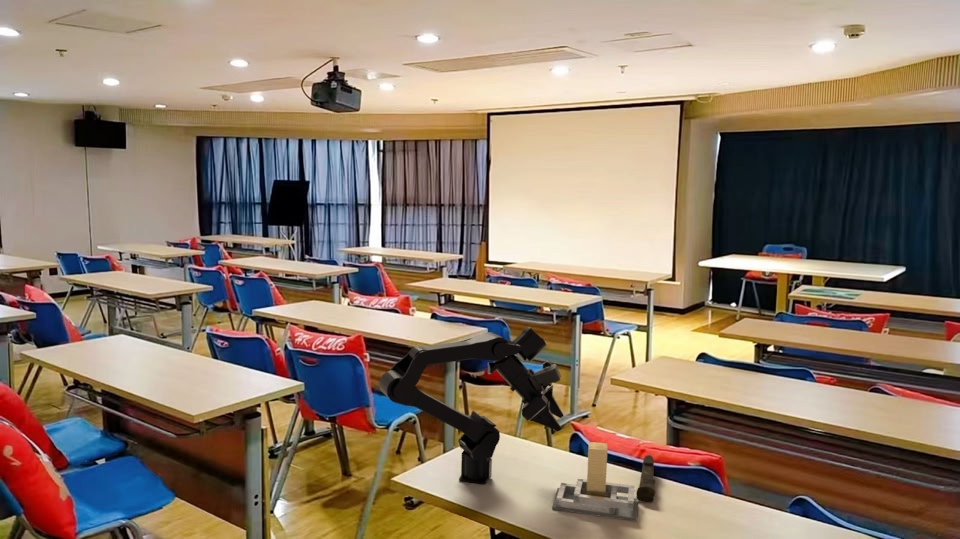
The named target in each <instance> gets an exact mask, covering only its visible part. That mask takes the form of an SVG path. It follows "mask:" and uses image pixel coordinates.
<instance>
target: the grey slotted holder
mask: <svg viewBox="0 0 960 539" xmlns="http://www.w3.org/2000/svg"><path fill="white" fill-rule="evenodd" d="M558 488H559V492H558V495H557V498H556V507H563V508H570V509H577V510H585V511H592V512H599V513H606V514H613V515H615V508H618V509H626V510H633V505H634V498H635V485H629V484H621V483H616V482H607V481H606V490H605V497H598V496H591V495H586V491H587V479H585V478H584V479H583V478H577V480H576V484H575V483H574V484H572V483H567V482H566V483H565V482H561V483H560V486H559V487H558ZM565 492H570V493H574V498H573V500H571V499H564V496H565ZM618 493H620V494H626V495H627V497H628V500H621V499H616V498H617V496H618ZM583 494H585V495H583ZM606 497H607V498H606Z"/></svg>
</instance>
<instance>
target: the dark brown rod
mask: <svg viewBox="0 0 960 539" xmlns="http://www.w3.org/2000/svg"><path fill="white" fill-rule="evenodd" d="M654 469H655V462H654V457H653V456H652V455H650V454H649V455H648V454H646V455H645V456H644V459H643V461H642V468H641V474H640V479H639V486H638V488H637V489H636V492H635V493H636V496H635V498H637V502H641V503H648V504H649V503H650V504H651V503H653V502H654V499H655V497H656V491H655V483H656V480H655V479H654V471H655V470H654Z"/></svg>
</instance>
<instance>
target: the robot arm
mask: <svg viewBox="0 0 960 539" xmlns="http://www.w3.org/2000/svg"><path fill="white" fill-rule="evenodd" d="M546 347H547V342H546V341H545V340H544V339H543V337H541V336H540V335H539V334H538V333H536V332H535V331H534V329H533V328H532V327H529V326H526V327H525V328H523V330H522V331H521V332H520V333H519V335H518V336H517V337H516V338H514V339H513V340H510V339H508V338H504V337H502V336H501V335H498V334H496V333H494V332H491V331H490V332H489V331H487V332H483V333H481V334H478V335H475V336H473V337H471V338H470V339H467V340H464V341H463V340H462V341H454V342H449V343H448V342H447V343H440V344H439V343H438V344H433V345H424V346H419V345H417V346H414V347H412V348H411V349H410V350H408V351H409V352H407V354H406V355H405V356H403V357H402V358H400V359H399V360H398V361H397V362H396V363H395V364H393V365H392V367H391V368H390V369H389V370H388V371H386V372H385V373H383V374H382V375H381V377H380V378H379V383H378V385H379V389H380V392H382V393H383V394H384V395H385V396H386V397H387V398H388V399H389V400H390V401H391V402H393V403H395V404H399V405H401V406H405V407H410V408H416V409H418V410H420V411H422V412H424V413H425V414H428V415H430V416H431V417H432V418H435V419H437V420H439V421H440V422H442V423H444V424H447V425H449V426H450V427H452V428H453V429H454V428H455V429H456V430H458V431H459V432H461V433H463V434H462V435H461V436H460V437H459V438H458V440H457V443H458V445H459V448H460V449H461V450H463V451H462V452H461V466H460V468H461V470H460V476H459V478H458V481H460V482H467V483H475V484H479V485H481V484H482V485H485V484H486V483H487V481H488V480H489V479H490V478H491V476H492V471H493V470H492V469H493V459H492V458H493V455H494V452H495V451H496V447H497V445H498V444H499V442H500V439H501V435H500V433H501V432H500V430H499V429H497V428H496V427H497V424H496V423H495V422H493V421H492V420H490V419H488V417H486V416H484V415H480V414H479V413H477V412H476V411H475V410H472V411H471V414H465V413H462V412H461V411H459V410H457V409H455V408H454V407H452V406H450V405H448V404H446V403H444V402H443V401H441V400H439V399H437V398H435V397H433V396H431V395H429V394H428V393H426V392H424V391H422V390H421V389H419V388H418V387H417V386H416V385H417V384H418V383H419V381H420V379H421V377H422V375H423V372H424V370H426V368H427V367H428V366H432V365H439V364H446V363H452V362H461V361H467V360H480V361H485V362H487V374H488V375H491V374H493V373H494V372H495V371H496V372H497V373H498V374H499V375H500V376H501V377H502V378H503V379H504V380H505V382H507V384H508V385H509V386H510V388H509V389H510V390H511V392H516V394H518V395H519V397H520V398H521V399H522V400H521V402H522V403H523V405H522V408H521V416H522V417H523V418H524V419H525V420H526V421H527V422H528V421H529V422H534V423H537V424H539V425H543V426H544V427H546V428H549V429H551V430H553V431H556V432H560V431H561V430H562V426H561V425H560V423H559V422H558V420H557V418H559V419H562V418H563V417H564V413H563V411H562V410H561V407H560V406H559V404H558V402H557V400H556V398H555V397H554V394H553V393H554V385H553V383H554V384H556V383H557V382H559V381H561V377H562V376H561V373H560V371H559V367H558V365H557V364H556V363H552V362H551V361H550V360H547V361H544V362H543V363H542V368H539V370H536V371H534V369H532V368H530V367H529V368H528V367H526V366H525V365H524V362H526V361H527V362H528V363H531V362H532V361H533V360H534V359H535V358H536V357H537V356H538V355H539V354H540V353H541V352H542V351H543V350H544V349H545V348H546ZM489 361H490V362H489ZM521 361H522V362H521ZM555 416H556V417H557V418H556V417H555Z"/></svg>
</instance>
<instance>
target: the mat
mask: <svg viewBox="0 0 960 539" xmlns="http://www.w3.org/2000/svg"><path fill="white" fill-rule="evenodd" d="M559 488H560V487H557V489H556V492H555V495H554V498H553V502H552V506H551V509H552V510H555V511H562V512H568V513H577V514H584V515H590V516H591V515H592V516H597V517H605V518H611V519H619V520H627V521H631V522H633V521H634V522H637V519H638V515H637V514H638V499H637V498H636V497H634V505H633V510H626V509H618V508H615V515H613V514H606V513H599V512H592V511H585V510H577V509H570V508H563V507H556V498H557V495H558V492H559ZM583 495H585V494H583ZM573 498H574V493H570V492H565V496H564V499H571V500H573ZM606 498H607V497H606ZM616 499H621V500H628V496H622V495H617V498H616Z"/></svg>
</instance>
